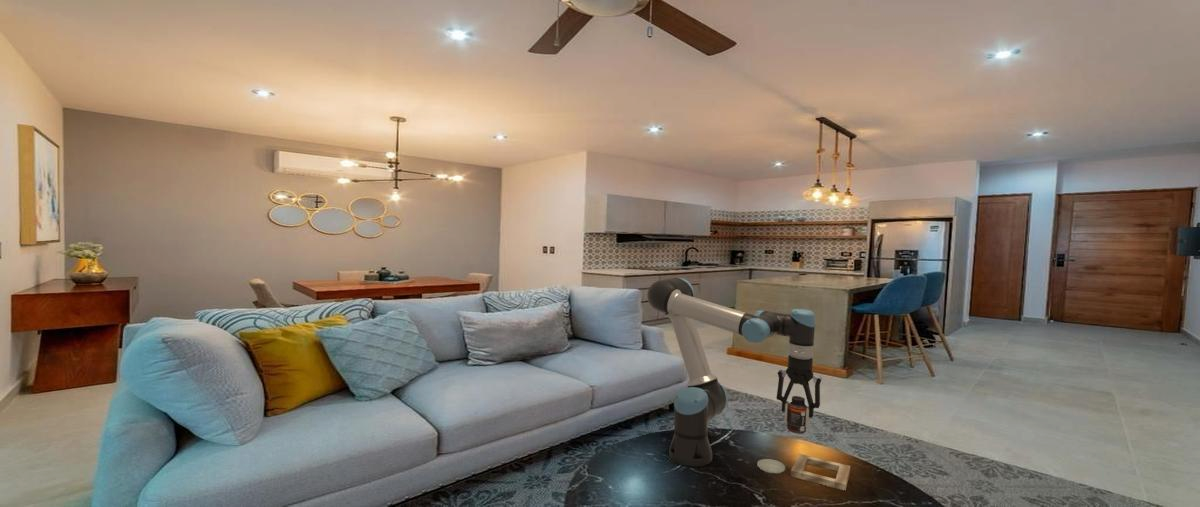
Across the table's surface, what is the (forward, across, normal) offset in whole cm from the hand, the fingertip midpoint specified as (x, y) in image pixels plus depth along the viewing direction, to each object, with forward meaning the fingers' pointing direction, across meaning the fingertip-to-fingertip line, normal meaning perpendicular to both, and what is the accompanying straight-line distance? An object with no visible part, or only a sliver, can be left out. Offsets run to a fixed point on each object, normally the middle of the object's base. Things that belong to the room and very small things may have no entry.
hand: (796, 423), depth 160 cm
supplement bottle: (+3, 0, 0) cm, 3 cm away
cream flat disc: (+16, -7, -2) cm, 18 cm away
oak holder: (+16, +8, +1) cm, 18 cm away
